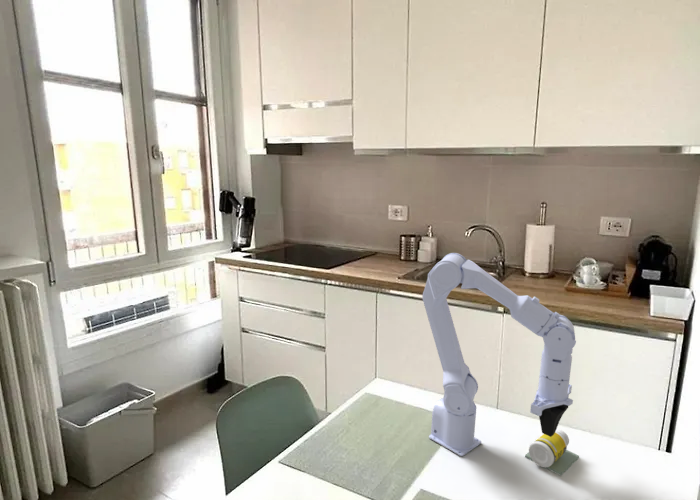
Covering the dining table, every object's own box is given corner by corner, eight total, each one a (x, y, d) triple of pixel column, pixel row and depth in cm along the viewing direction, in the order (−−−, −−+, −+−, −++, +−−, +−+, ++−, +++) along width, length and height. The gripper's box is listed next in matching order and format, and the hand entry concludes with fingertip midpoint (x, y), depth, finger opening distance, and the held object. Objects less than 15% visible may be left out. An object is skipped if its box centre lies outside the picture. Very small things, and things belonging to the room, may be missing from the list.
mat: (525, 457, 103) (525, 455, 103) (544, 441, 109) (544, 439, 109) (560, 475, 97) (561, 473, 97) (579, 457, 103) (579, 455, 103)
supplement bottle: (557, 461, 96) (577, 442, 102) (538, 438, 99) (558, 421, 105) (541, 472, 99) (561, 453, 106) (523, 450, 102) (543, 433, 108)
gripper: (557, 393, 89) (550, 456, 92) (588, 371, 99) (581, 429, 101) (523, 380, 94) (517, 440, 97) (555, 360, 104) (549, 415, 106)
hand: (547, 433), depth 99 cm, fingers closed
